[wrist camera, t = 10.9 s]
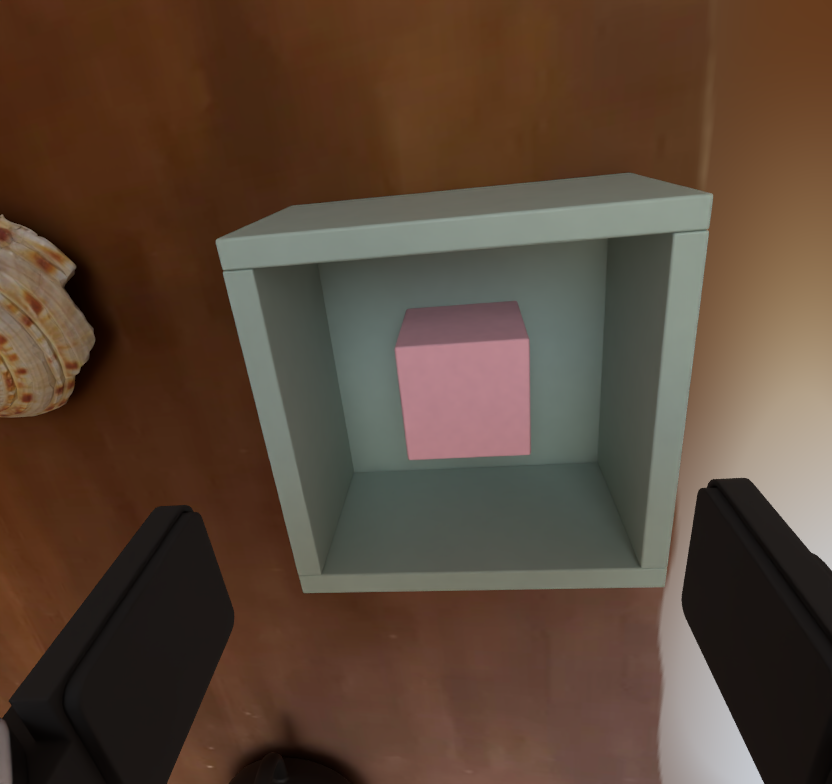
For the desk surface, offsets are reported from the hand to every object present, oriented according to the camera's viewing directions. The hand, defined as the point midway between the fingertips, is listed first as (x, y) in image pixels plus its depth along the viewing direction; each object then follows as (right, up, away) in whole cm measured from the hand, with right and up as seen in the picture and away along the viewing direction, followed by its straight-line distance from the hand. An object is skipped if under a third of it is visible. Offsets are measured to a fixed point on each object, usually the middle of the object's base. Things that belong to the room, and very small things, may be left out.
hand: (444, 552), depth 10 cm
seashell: (-17, +7, +11) cm, 21 cm away
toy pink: (+1, +4, +10) cm, 11 cm away
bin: (+1, +5, +11) cm, 12 cm away
